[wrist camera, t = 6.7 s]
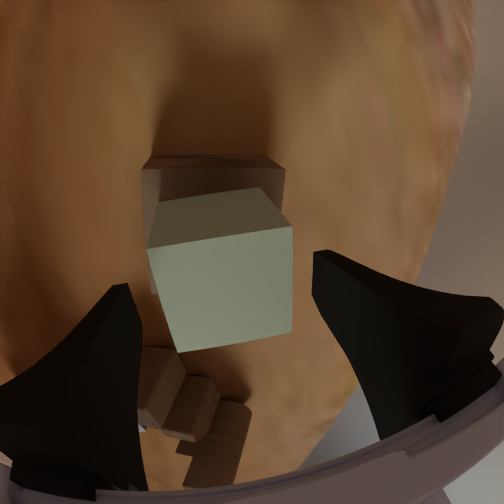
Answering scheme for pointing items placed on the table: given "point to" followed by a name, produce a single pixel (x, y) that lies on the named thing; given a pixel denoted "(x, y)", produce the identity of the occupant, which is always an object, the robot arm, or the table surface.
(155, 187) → the walnut base
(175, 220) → the sage cube
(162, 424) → the wooden block set
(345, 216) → the table surface
